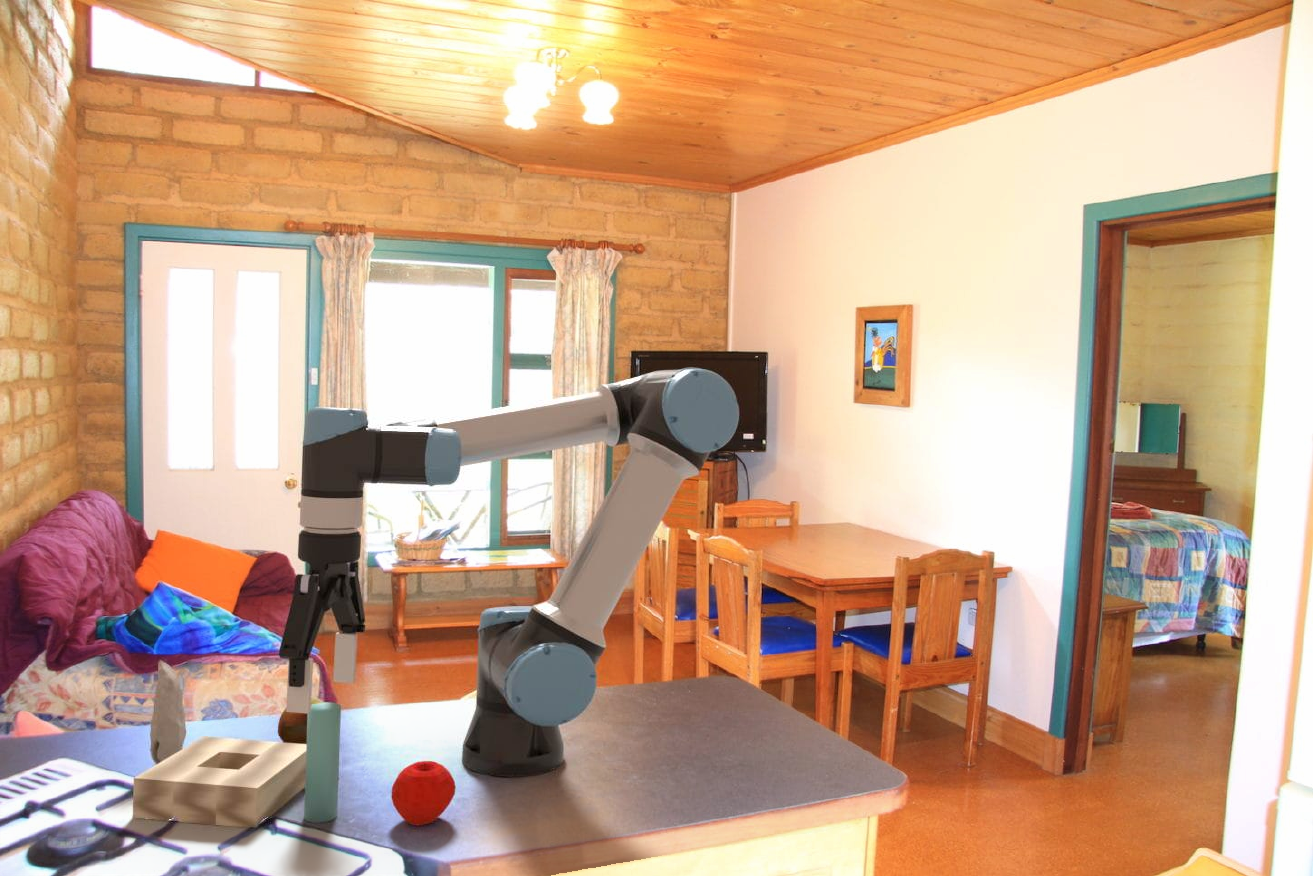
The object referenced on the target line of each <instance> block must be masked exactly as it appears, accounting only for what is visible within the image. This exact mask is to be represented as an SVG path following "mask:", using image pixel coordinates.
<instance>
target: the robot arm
mask: <svg viewBox="0 0 1313 876" xmlns="http://www.w3.org/2000/svg"><path fill="white" fill-rule="evenodd" d="M739 420H740V406H739V404H738V399H737V396H736V393H735V391H734V389H733V387H732V386H731V385H730V383H729V382H728V381H727V379H724V377H723V376H721V375H719V374H718V373H716V372H714V371H712V370H708V369H704V368H703V369H702V368H699V367H693V366H691V367H684V368H681V369H661V370H655V371H651V372H649V373H643V374H642V375H639V376H635V377H631V378H629V379H623V380H620V381H617V382H612V383H606V384H605V383H604V384H600V385H599V386H598V387H597V389H596V390H595V391H594V392H590V393H584V394H579V395H571V396H567V397H566V396H565V397H559V398H553V399H547V400H546V399H545V400H540V401H535V402H528V403H527V402H526V403H522V404H515V405H509V406H508V405H507V406H503V407H502V406H501V407H496V408H490V409H484V410H478V411H472V412H464V413H459V414H452V415H446V416H439V417H434V418H430V419H429V418H428V419H422V420H415V421H409V422H402V421H401V422H399V421H398V422H393V423H388V424H386V425H379V424H374V423H373V424H371V423H369V420H368V414H367V411H365V410H364V409H362V408H361V409H360V408H347V407H345V408H343V407H342V408H341V407H332V406H331V407H328V406H327V407H326V406H325V407H324V406H315V407H312V408H311V409H309V410H308V411H307V412H306V414H305V420H304V428H303V429H304V430H303V440H302V455H301V456H302V457H301V480H300V481H301V483H300V485H301V487H300V488H301V490H300V501H298V503H297V507H298V508H299V510H300V512H299V525H300V526H301V528H304V529H302V530H301V531H300V532H298V543H297V544H298V545H297V557H298V560H300V561H301V562H304V563H305V562H306V563H307V564H308V565H309V568H308V572H307V574H301V573H298V574H296V575H295V578H294V588H293V596H292V599H291V604H290V605H289V606H290V607H289V610H288V615H287V618H286V619H287V620H286V623H285V626H284V629H283V630H284V631H283V634H282V640H281V642H280V647H279V649H278V650H279V651H278V655H279V658H280V659H287V660H288V665H287V669H288V670H287V685H286V686H287V688H286V707H285V708H286V712H294V713H306V714H308V713H310V712H311V697H312V690H313V672H314V671H313V668H314V658H313V657H311V653H312V650H313V647H314V644H315V641H316V639H317V637H318V636H317V635H318V634H319V630H320V627H321V624H322V621H323V619H324V616H325V613H326V612H328V611H329V610H330V609H331V611H332V614H333V616H334V619H335V621H336V625H337V627H338V630H339V631H338V632H335V639H334V659H333V678H332V679H333V680H332V682H333V683H342V684H354V683H355V682H356V674H357V673H356V669H357V668H356V667H357V654H358V653H357V651H358V650H357V647H358V633H361V634H364V633H365V630H366V624H365V623H366V616H365V609H364V603H363V602H364V601H363V595H362V590H361V589H362V588H361V584H360V577H359V569H360V567H359V564H360V563H359V561H358V560H359V559H361V548H362V547H361V545H362V533H361V532H360V531H359V530H358V529H359V528H360V529H361V527H362V526H363V518H364V517H363V511H364V485H365V484H392V485H394V484H395V485H421V486H422V485H423V486H425V485H426V486H429V487H435V486H446V485H452V484H454V483H455V482H457V481H458V478H459V476H460V471H461V467H464V466H469V465H476V464H480V463H481V464H482V463H486V462H487V463H488V462H493V461H498V460H503V459H509V458H515V457H520V456H526V455H533V454H539V453H544V452H550V451H554V450H561V449H566V448H572V447H579V446H582V445H583V446H584V445H590V444H595V443H601V442H603V443H605V444H606V445H607V446H609V447H616V446H620V445H629V447H630V452H629V453H628V456H627V458H626V459H625V461H624V463H623V465H622V467H621V469H620V470H619V472H618V474H617V476H616V477H615V480H614V481H613V483H612V485H611V487H610V488H609V490H608V492H607V494H606V495H605V497H604V499H603V501H602V502H601V505H600V507H599V508H598V510H597V512H596V513H595V516H594V518H593V519H592V521H591V523H590V525H589V527H588V529H587V530H586V532H585V533H584V536H583V537H582V539H581V541H580V543H578V546H577V548H576V550H575V552H574V554H573V555H572V557H571V559H570V561H569V563H568V565H567V566H566V568H565V570H564V572H563V574H562V575H561V577H560V579H559V581H558V583H557V585H556V586H555V587H554V590H553V592H552V594H551V595H550V597H549V599H548V600H545V601H542V602H540V603H538V604H537V603H536V604H534V605H532V606H531V605H521V606H520V605H517V606H516V605H513V606H512V605H511V606H500V607H499V606H498V607H497V606H496V607H490V608H486V609H484V610H483V611H482V612H481V614H480V617H479V624H478V628H477V634H478V645H477V647H478V650H477V672H476V673H477V674H476V675H477V677H476V678H477V679H476V698H475V699H476V702H475V703H476V705H475V710H474V713H473V715H472V718H471V721H470V724H469V727H468V729H467V732H466V734H465V737H464V740H463V743H462V751H461V753H462V754H461V755H462V758H461V761H462V764H463V765H464V766H465V767H467V768H468V769H470V770H472V771H474V772H478V773H480V774H484V775H489V776H495V777H496V776H497V777H526V776H534V775H539V774H544V773H547V772H550V771H552V770H554V769H556V768H558V767H559V766H560V765H561V764H562V763H563V762H562V760H563V761H564V751H565V749H564V747H565V745H564V741H563V737H562V733H561V729H560V725H564V724H567V723H569V722H572V721H573V720H574V719H576V718H578V717H579V716H580V715H581V714H583V713H584V711H585V710H586V709H587V708H588V706H589V705H590V704H591V703H592V700H593V699H594V696H595V694H596V690H597V685H598V684H597V683H598V682H597V681H598V678H597V670H596V666H597V665H598V663H599V660H600V659H601V657H602V654H603V653H604V651H605V650H606V647H607V642H606V639H605V635H604V628H605V626H606V624H607V623H608V620H609V619H610V616H611V615H612V613H613V612H614V611H613V610H614V609H615V607H616V606H617V604H618V602H619V600H620V598H621V597H622V594H623V593H624V591H625V589H626V587H627V585H628V584H629V581H630V580H631V578H632V576H633V573H634V572H635V570H636V568H637V566H638V565H639V563H640V561H641V559H642V557H643V556H644V554H645V551H646V550H647V549H648V546H649V544H650V543H651V540H652V538H653V537H654V535H655V533H656V531H657V530H658V528H659V525H661V524H660V523H661V522H662V520H663V518H664V516H665V515H666V512H667V511H668V510H669V507H670V505H671V503H672V502H673V500H674V498H675V497H676V494H677V493H678V490H679V488H680V486H681V485H682V483H683V482H684V481H685V480H686V479H689V478H692V477H696V476H698V475H699V474H700V472H701V470H702V468H703V466H704V465H705V463H706V462H707V459H708V457H709V455H710V454H711V453H712V452H716V451H717V450H719V449H721V448H723V447H724V446H726V445H727V444H728V443H729V441H731V439H732V438H733V436H734V435H735V433H736V430H737V428H738V425H739ZM561 762H562V763H561ZM560 763H561V764H560ZM559 764H560V765H559ZM558 765H559V766H558ZM557 766H558V767H557ZM555 767H556V768H555ZM553 768H554V769H553ZM551 769H552V770H551ZM549 770H550V771H549Z"/></svg>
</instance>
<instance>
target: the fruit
mask: <svg viewBox="0 0 1313 876" xmlns="http://www.w3.org/2000/svg"><path fill="white" fill-rule="evenodd" d="M316 703H324V701H323V700H322V699H321V698H318V697H315V696H311V705H313V704H316ZM307 718H308V714H306V713H294V712H286V707H285V708H284V709H283V711H282V713H281V715H280V717H279V720H278V723H277V724H278V725H277V734H278V736H279V739H280V740H281V741H282V742H283V743H296V744H307Z"/></svg>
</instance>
